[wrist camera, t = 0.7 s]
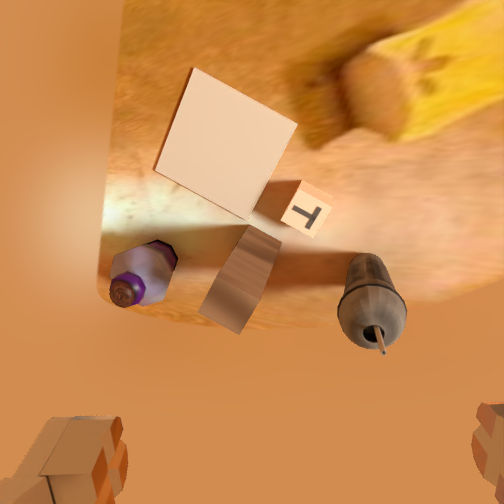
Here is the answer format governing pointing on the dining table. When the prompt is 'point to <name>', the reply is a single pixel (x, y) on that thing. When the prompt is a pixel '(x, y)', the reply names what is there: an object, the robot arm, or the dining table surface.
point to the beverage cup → (371, 305)
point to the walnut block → (241, 280)
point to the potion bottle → (142, 274)
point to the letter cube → (307, 209)
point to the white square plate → (224, 144)
